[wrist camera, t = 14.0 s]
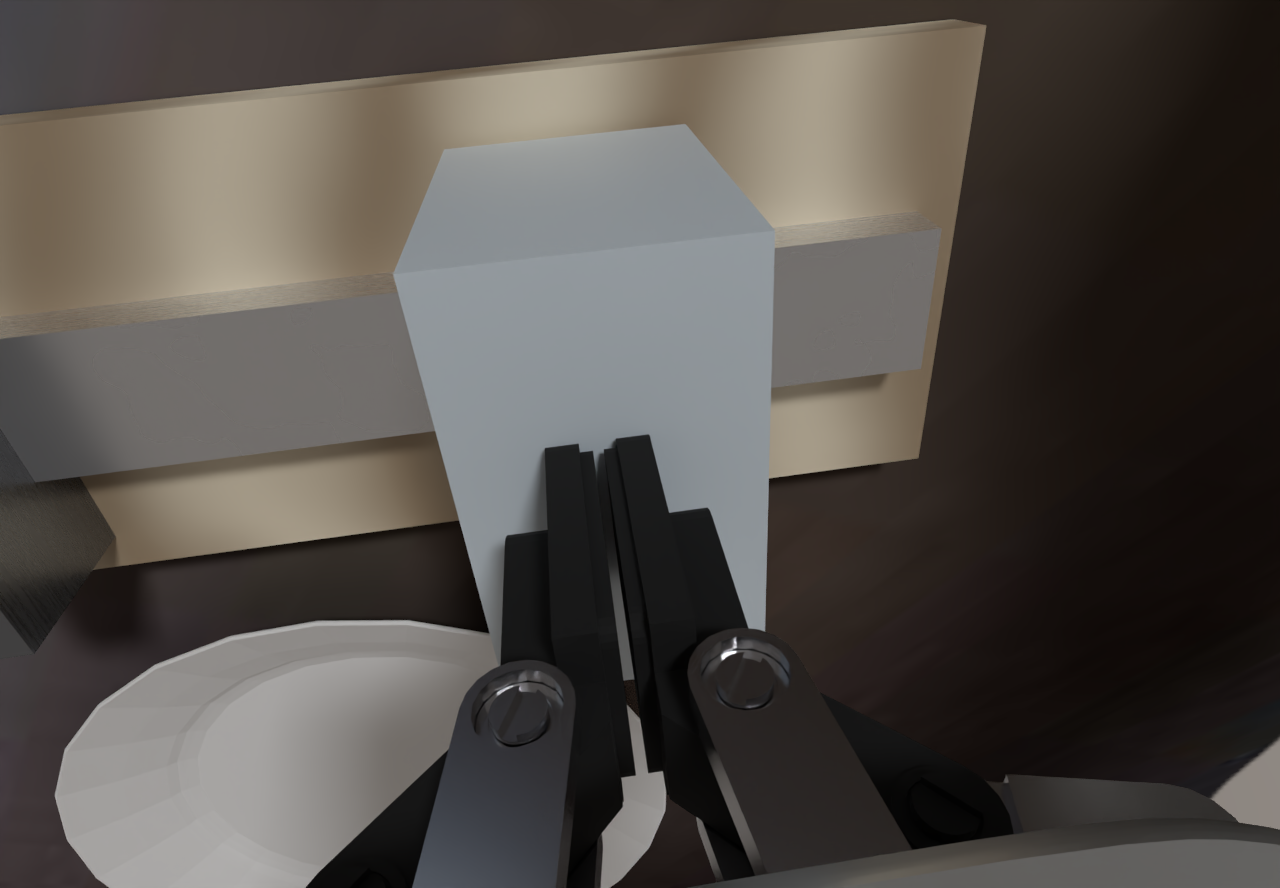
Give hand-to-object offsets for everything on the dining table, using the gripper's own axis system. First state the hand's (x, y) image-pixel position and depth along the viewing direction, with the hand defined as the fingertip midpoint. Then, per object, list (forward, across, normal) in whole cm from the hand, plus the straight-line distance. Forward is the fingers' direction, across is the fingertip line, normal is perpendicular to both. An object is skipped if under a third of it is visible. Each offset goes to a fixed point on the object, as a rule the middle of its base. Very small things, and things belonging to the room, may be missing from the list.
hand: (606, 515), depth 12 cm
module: (+7, 0, 0) cm, 7 cm away
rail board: (+9, +4, 0) cm, 10 cm away
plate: (+9, +9, +18) cm, 23 cm away
